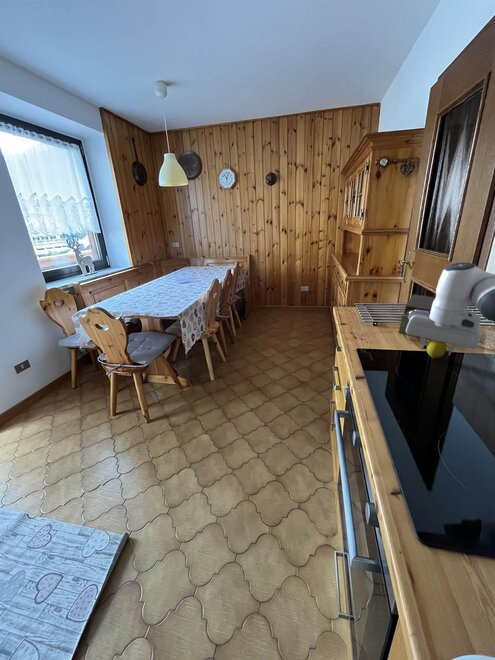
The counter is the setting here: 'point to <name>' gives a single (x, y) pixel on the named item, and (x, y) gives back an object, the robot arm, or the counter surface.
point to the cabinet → (419, 303)
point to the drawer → (404, 324)
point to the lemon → (436, 348)
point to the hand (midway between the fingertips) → (435, 351)
